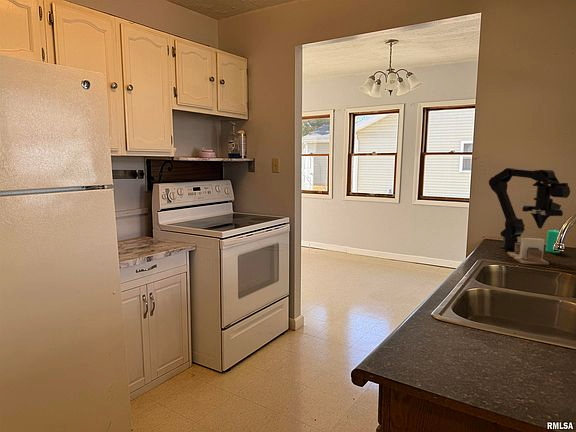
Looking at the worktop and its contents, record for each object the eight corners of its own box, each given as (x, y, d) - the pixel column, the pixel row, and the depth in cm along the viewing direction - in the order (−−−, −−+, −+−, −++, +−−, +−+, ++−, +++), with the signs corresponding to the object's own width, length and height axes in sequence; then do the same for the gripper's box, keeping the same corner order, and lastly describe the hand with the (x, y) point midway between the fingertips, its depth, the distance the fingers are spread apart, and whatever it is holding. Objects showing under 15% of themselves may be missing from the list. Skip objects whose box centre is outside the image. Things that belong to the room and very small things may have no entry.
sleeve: (519, 257, 180) (521, 237, 178) (540, 258, 178) (542, 238, 177) (522, 258, 177) (524, 239, 175) (543, 259, 175) (545, 240, 174)
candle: (555, 250, 202) (558, 227, 200) (562, 252, 196) (565, 229, 194) (543, 249, 202) (545, 226, 201) (549, 252, 196) (552, 228, 195)
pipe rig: (507, 253, 192) (508, 242, 191) (532, 255, 190) (533, 243, 189) (521, 263, 174) (522, 250, 173) (548, 264, 172) (550, 251, 171)
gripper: (575, 197, 179) (571, 231, 181) (543, 194, 198) (539, 225, 200) (553, 197, 178) (549, 231, 180) (523, 194, 196) (520, 225, 198)
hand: (539, 228), depth 189 cm, fingers closed
